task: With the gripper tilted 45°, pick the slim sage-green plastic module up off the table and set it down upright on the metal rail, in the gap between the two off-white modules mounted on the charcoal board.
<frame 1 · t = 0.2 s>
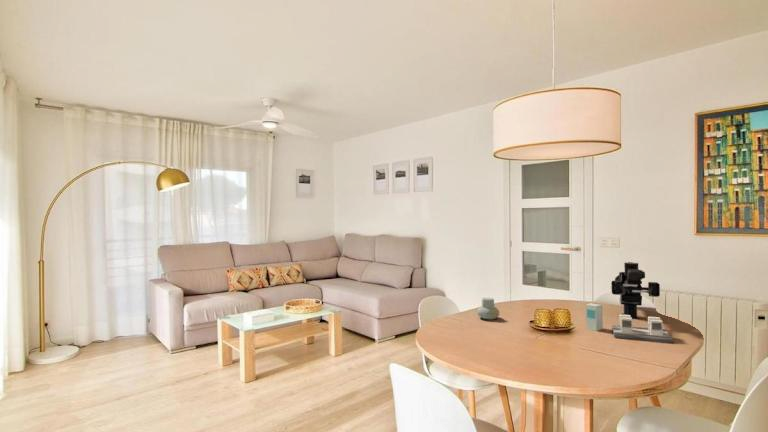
hand: (637, 292, 175), 17 cm above the table, fingers open, 9 cm apart
air freshener: (488, 318, 201), on the table
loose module: (594, 328, 179), on the table
rail board: (640, 335, 167), on the table
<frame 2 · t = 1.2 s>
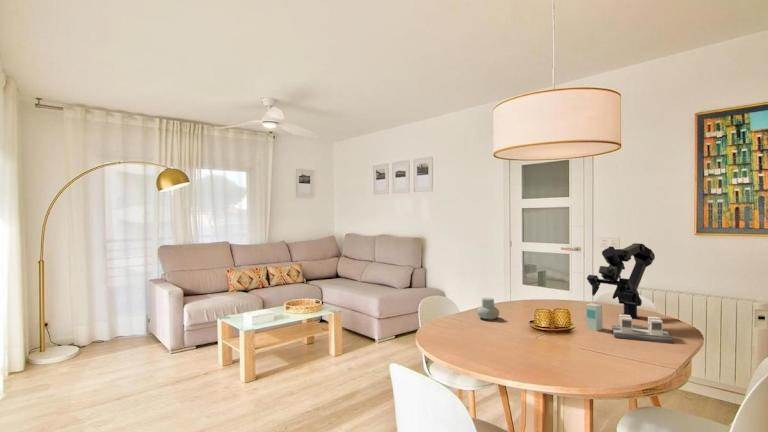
hand: (602, 296, 183), 13 cm above the table, fingers open, 9 cm apart
nothing on the table moved.
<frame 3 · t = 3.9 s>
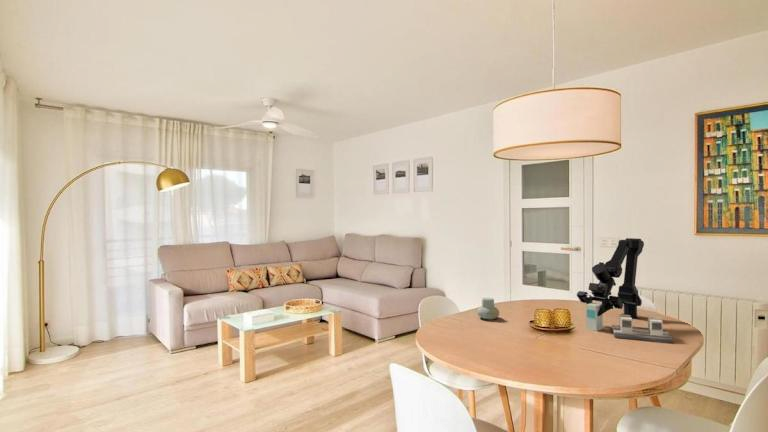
hand: (592, 314, 178), 7 cm above the table, fingers closed on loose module, 4 cm apart
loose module: (594, 328, 179), on the table, touching gripper
everything else where it was.
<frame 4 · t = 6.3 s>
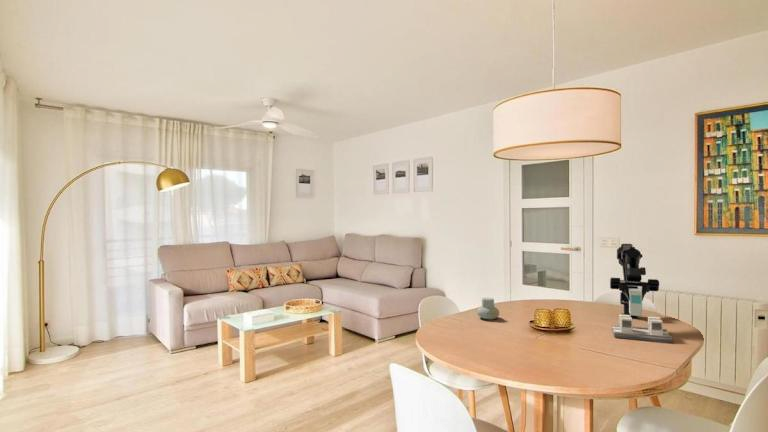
hand: (635, 300, 175), 13 cm above the table, fingers closed on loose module, 4 cm apart
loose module: (635, 314, 177), point 7 cm above the table, touching gripper
everything else where it was.
when the fingers open (9 cm above the table, at t = 8.8 s): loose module stays where it is, resting on rail board.
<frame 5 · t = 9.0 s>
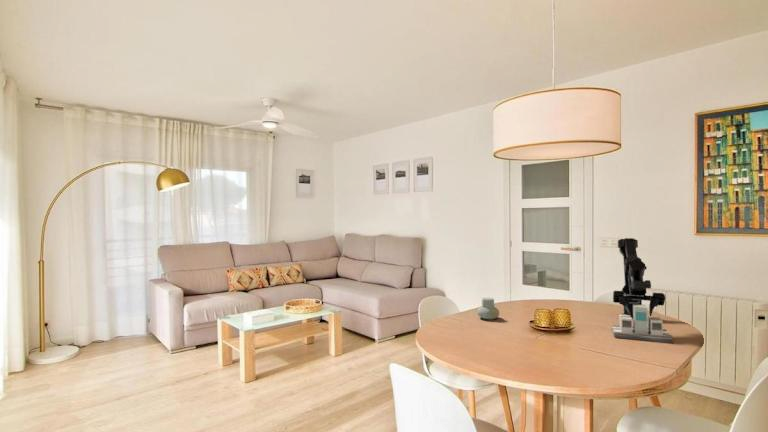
hand: (640, 314, 166), 9 cm above the table, fingers open, 7 cm apart
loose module: (640, 331, 167), point 2 cm above the table, touching rail board
everything else where it was.
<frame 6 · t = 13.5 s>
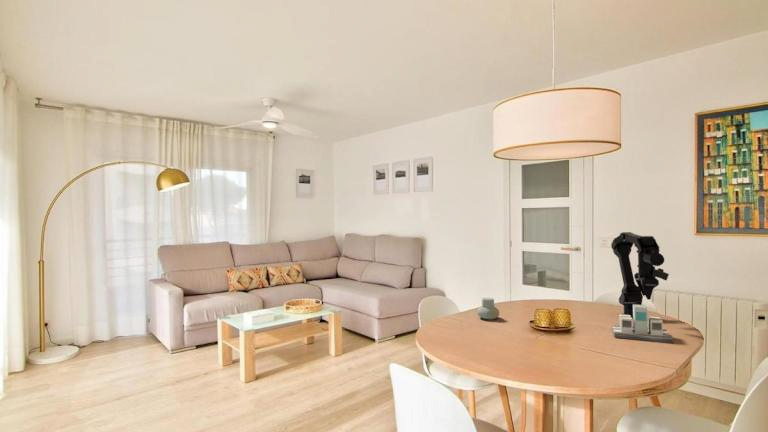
hand: (646, 297, 182), 13 cm above the table, fingers open, 9 cm apart
nothing on the table moved.
at the end: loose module 0.0 cm off-centre on the rail board, point 1.6 cm above the rail board's base; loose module tilted 0°; the gripper is holding nothing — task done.
